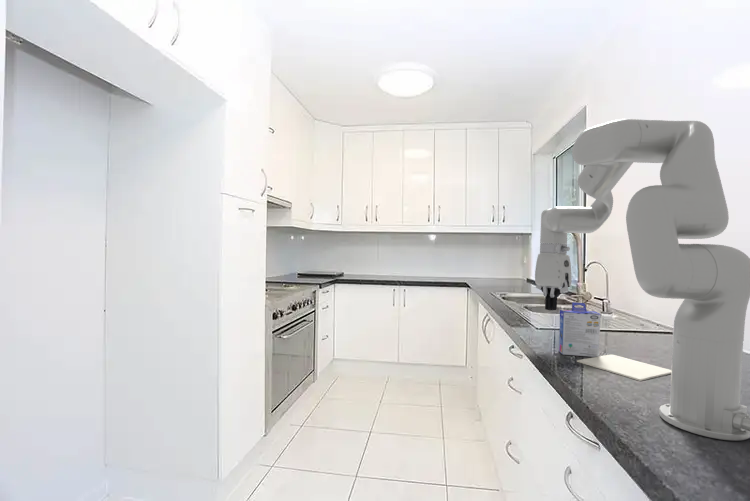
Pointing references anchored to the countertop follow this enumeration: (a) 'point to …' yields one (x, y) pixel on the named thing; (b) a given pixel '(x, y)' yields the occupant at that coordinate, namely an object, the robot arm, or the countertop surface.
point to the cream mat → (626, 367)
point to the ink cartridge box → (579, 331)
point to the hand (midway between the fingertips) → (550, 309)
